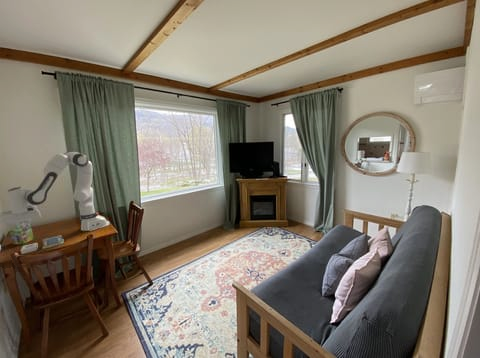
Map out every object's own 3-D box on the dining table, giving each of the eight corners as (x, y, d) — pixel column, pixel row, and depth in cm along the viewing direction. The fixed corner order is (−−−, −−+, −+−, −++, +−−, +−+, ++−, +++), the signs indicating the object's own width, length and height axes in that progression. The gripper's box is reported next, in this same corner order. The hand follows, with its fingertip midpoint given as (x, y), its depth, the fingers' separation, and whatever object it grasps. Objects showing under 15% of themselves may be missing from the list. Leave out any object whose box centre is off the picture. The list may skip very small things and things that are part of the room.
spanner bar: (62, 240, 168) (61, 235, 167) (62, 241, 166) (61, 236, 165) (44, 244, 162) (43, 239, 161) (43, 246, 159) (42, 240, 158)
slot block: (38, 246, 162) (37, 242, 161) (36, 250, 155) (35, 246, 155) (24, 249, 157) (23, 245, 156) (21, 254, 151) (20, 250, 150)
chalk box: (23, 244, 165) (18, 227, 162) (12, 244, 165) (7, 227, 162) (34, 239, 174) (30, 222, 171) (24, 239, 174) (20, 223, 171)
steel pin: (28, 229, 155) (26, 219, 153) (26, 230, 152) (24, 220, 151) (23, 229, 154) (21, 220, 152) (21, 231, 151) (18, 221, 150)
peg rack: (63, 240, 170) (62, 234, 169) (63, 243, 164) (61, 238, 163) (44, 244, 163) (42, 239, 162) (42, 248, 157) (41, 242, 156)
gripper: (-3, 214, 141) (2, 232, 144) (38, 207, 153) (42, 224, 156) (0, 211, 146) (5, 229, 149) (39, 205, 158) (43, 222, 161)
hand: (24, 227), depth 153 cm, fingers closed on steel pin, 3 cm apart
